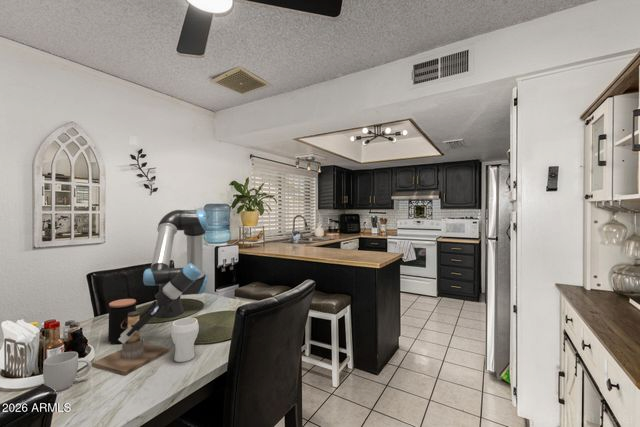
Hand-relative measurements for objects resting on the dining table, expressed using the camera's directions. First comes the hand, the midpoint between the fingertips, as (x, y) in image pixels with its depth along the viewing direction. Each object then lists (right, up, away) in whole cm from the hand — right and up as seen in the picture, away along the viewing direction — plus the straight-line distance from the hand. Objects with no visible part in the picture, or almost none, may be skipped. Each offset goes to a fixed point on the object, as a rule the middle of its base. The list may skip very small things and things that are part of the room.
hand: (122, 339), depth 117 cm
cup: (+24, -9, +3) cm, 26 cm away
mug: (-7, -9, -17) cm, 20 cm away
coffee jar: (-13, -9, +19) cm, 25 cm away
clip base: (+3, -9, +2) cm, 10 cm away
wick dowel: (+3, -6, +2) cm, 7 cm away
